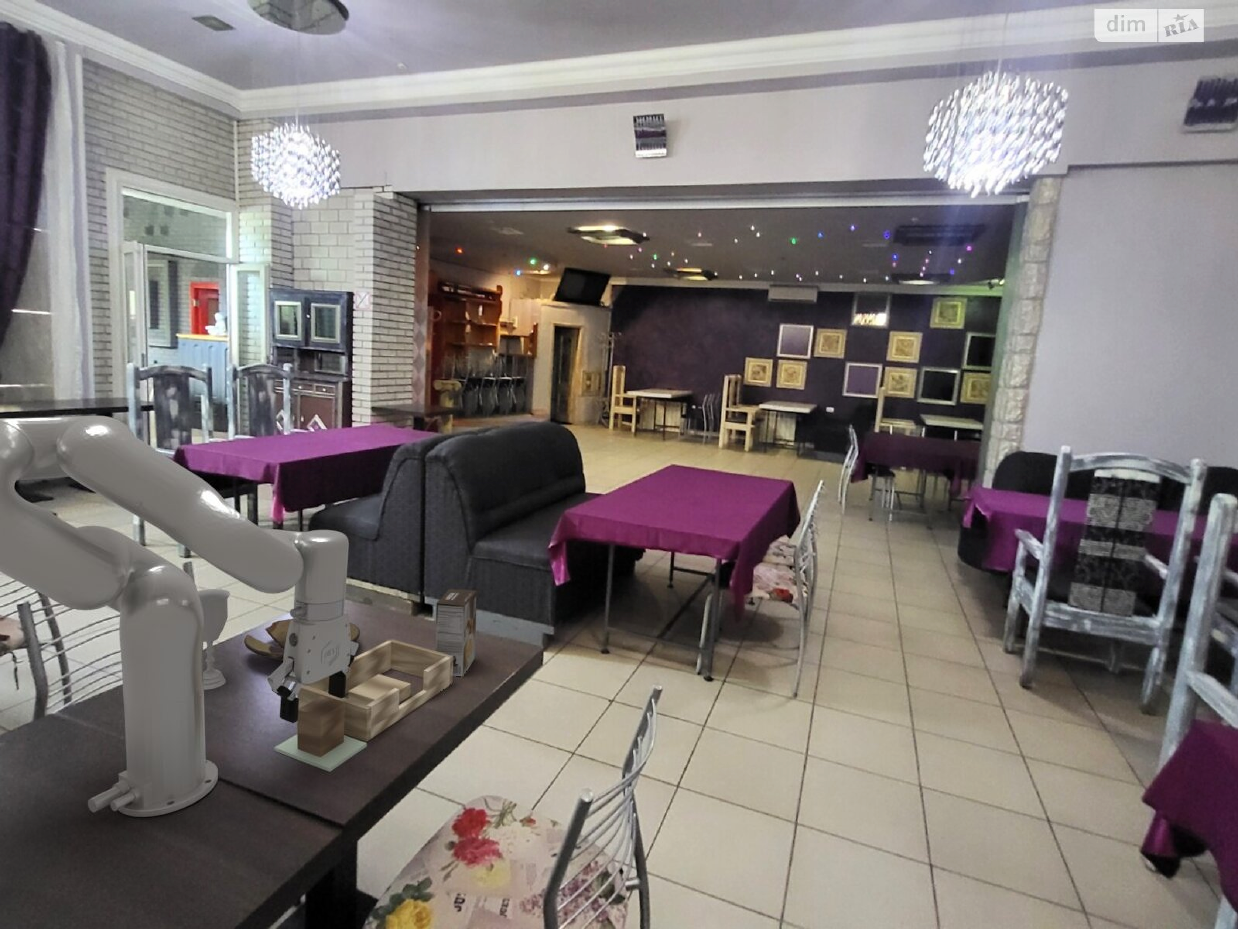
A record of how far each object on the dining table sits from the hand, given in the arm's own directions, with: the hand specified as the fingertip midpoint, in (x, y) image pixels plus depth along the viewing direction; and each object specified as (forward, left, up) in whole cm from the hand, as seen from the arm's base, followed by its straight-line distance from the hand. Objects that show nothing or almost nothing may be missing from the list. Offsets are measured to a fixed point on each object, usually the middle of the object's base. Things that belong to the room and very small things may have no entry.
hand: (313, 707), depth 107 cm
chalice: (+7, +34, -8) cm, 36 cm away
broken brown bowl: (+28, +30, -8) cm, 42 cm away
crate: (+18, +2, -8) cm, 20 cm away
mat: (+1, -1, -8) cm, 8 cm away
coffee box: (+36, -2, -8) cm, 37 cm away
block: (+1, -1, -7) cm, 7 cm away
